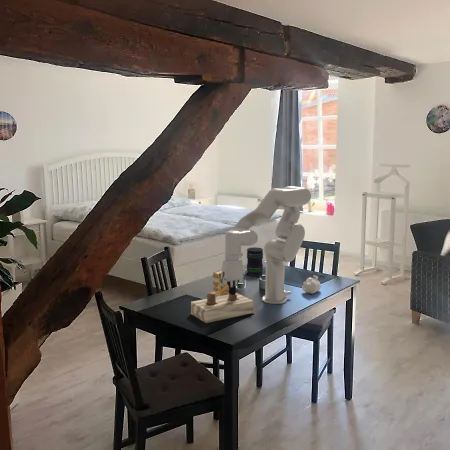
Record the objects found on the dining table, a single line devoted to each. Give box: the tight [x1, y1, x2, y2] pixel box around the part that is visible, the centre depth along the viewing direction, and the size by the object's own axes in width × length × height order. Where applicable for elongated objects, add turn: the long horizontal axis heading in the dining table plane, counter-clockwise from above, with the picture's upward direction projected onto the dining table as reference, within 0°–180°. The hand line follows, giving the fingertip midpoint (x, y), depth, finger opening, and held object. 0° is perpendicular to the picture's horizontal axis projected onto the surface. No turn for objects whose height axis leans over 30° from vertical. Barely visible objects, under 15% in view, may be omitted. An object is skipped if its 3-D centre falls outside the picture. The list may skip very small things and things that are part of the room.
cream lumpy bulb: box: [301, 274, 322, 295], centre depth 277 cm, size 10×8×15 cm
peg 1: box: [206, 291, 216, 306], centre depth 241 cm, size 4×4×6 cm
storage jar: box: [246, 246, 264, 276], centre depth 315 cm, size 10×10×15 cm
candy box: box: [212, 269, 229, 297], centre depth 264 cm, size 9×4×15 cm, turn 144°
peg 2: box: [229, 292, 238, 301], centre depth 248 cm, size 4×4×6 cm
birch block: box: [190, 292, 254, 324], centre depth 245 cm, size 14×26×6 cm, turn 122°
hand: (232, 294), depth 247 cm, fingers closed
